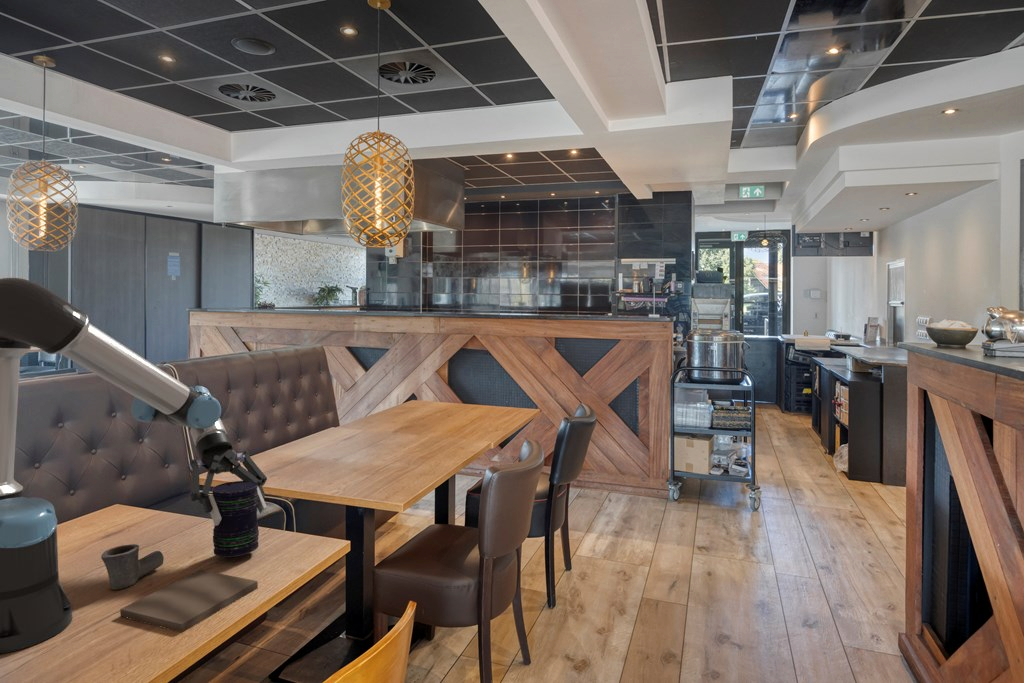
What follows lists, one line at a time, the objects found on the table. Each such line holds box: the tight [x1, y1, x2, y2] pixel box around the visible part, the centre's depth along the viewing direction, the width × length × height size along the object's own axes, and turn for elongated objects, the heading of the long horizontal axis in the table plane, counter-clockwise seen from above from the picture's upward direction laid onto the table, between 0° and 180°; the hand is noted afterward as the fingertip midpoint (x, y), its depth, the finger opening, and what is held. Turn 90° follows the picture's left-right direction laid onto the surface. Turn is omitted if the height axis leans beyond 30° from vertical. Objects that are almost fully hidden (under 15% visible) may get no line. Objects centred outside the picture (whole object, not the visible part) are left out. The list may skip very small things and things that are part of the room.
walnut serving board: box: [119, 569, 259, 633], centre depth 117 cm, size 18×16×2 cm
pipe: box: [100, 543, 165, 591], centre depth 127 cm, size 6×13×8 cm, turn 163°
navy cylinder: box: [211, 480, 260, 558], centre depth 139 cm, size 10×10×15 cm
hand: (241, 516), depth 137 cm, fingers closed on navy cylinder, 10 cm apart
